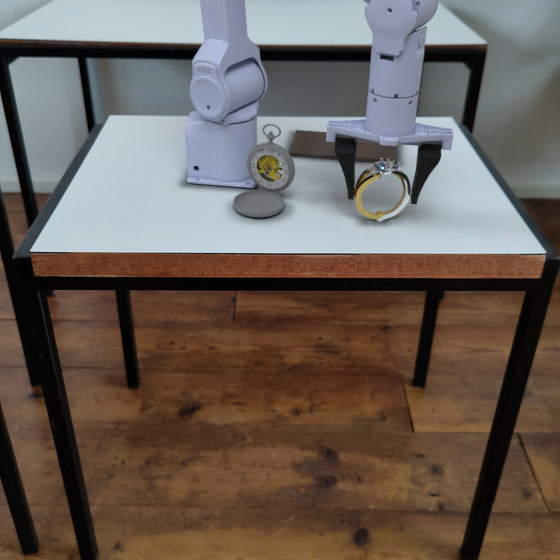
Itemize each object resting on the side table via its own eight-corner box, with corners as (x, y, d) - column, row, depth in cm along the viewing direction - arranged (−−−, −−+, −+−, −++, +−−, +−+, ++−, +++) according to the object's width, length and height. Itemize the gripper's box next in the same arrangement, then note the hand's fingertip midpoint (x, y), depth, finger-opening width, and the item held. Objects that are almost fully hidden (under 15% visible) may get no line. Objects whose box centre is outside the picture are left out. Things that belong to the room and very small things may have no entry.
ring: (403, 212, 89) (410, 154, 84) (409, 225, 86) (417, 165, 82) (349, 214, 88) (354, 156, 84) (354, 226, 86) (359, 167, 81)
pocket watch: (236, 221, 86) (234, 146, 81) (229, 191, 93) (227, 120, 88) (300, 217, 87) (303, 143, 82) (289, 188, 94) (291, 117, 89)
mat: (288, 155, 103) (288, 152, 103) (296, 133, 111) (296, 129, 110) (396, 164, 101) (397, 160, 101) (397, 140, 109) (397, 137, 109)
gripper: (326, 97, 76) (320, 208, 83) (461, 106, 74) (443, 218, 81) (331, 78, 81) (325, 183, 89) (457, 85, 80) (440, 191, 87)
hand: (382, 198), depth 86 cm, fingers open, 7 cm apart
